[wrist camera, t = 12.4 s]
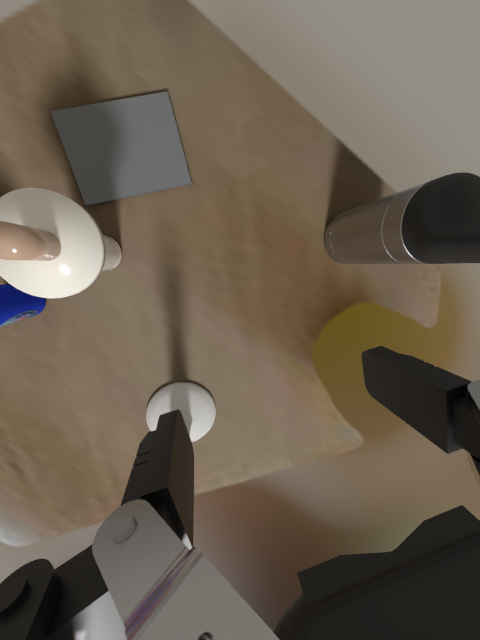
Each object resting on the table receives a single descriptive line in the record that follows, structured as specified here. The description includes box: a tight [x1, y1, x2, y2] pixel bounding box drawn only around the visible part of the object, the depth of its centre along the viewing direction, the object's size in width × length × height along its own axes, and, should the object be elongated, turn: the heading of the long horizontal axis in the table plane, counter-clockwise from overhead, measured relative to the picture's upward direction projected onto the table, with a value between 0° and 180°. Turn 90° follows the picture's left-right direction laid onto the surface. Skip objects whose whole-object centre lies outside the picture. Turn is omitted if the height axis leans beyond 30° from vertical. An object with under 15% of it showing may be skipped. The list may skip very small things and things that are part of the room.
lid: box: [0, 188, 106, 298], centre depth 21 cm, size 10×10×6 cm
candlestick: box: [146, 382, 216, 442], centre depth 32 cm, size 13×13×30 cm
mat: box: [50, 91, 192, 206], centre depth 36 cm, size 16×12×1 cm
